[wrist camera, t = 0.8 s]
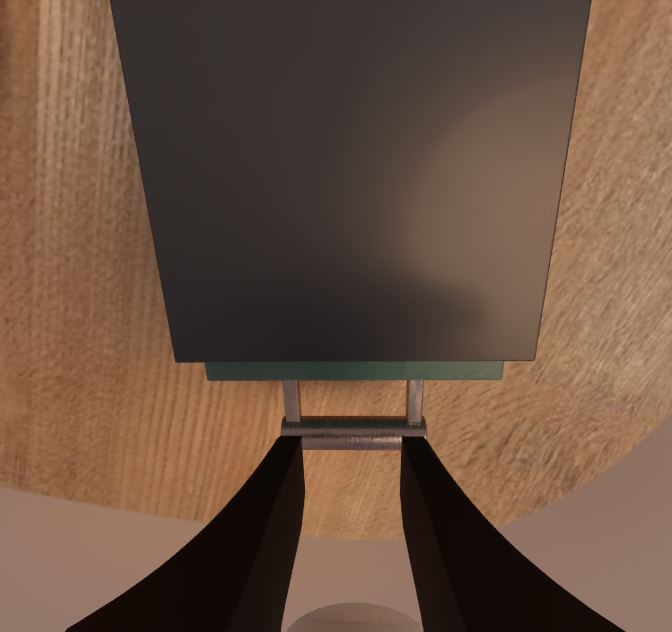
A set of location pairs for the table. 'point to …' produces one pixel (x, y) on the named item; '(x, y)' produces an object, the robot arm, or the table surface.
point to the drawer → (354, 428)
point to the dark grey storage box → (352, 172)
